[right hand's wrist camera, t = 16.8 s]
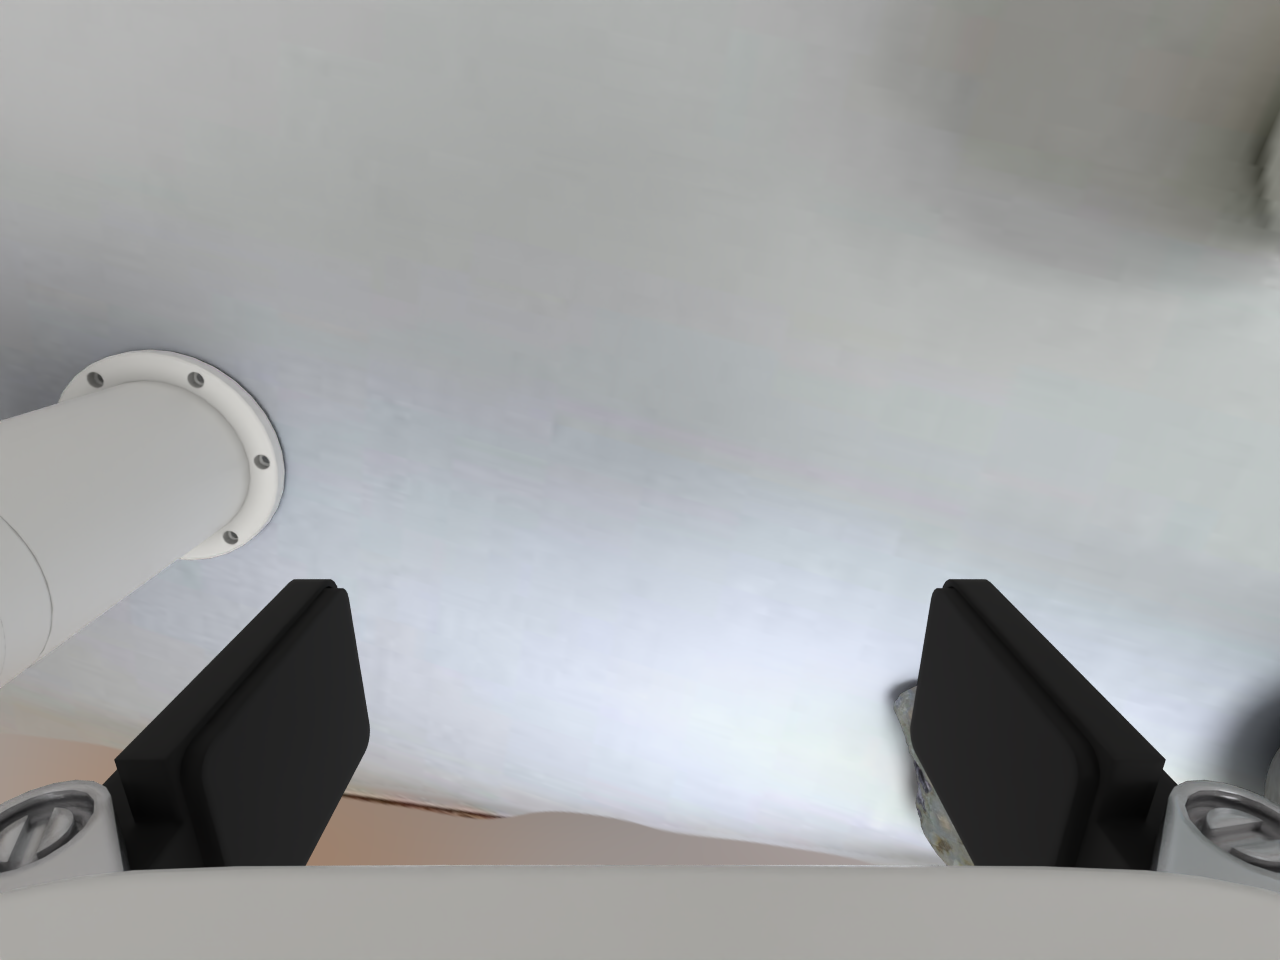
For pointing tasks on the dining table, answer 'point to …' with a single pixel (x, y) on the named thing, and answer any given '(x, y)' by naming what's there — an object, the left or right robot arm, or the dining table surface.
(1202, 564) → the dining table surface
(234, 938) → the right robot arm
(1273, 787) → the sculpture
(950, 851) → the mineral rock
